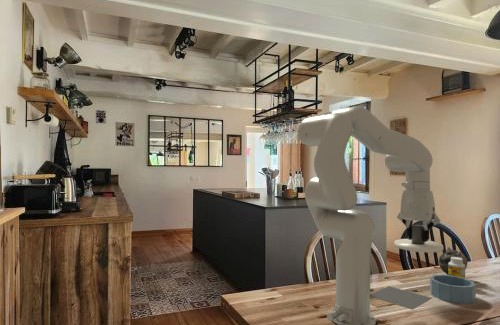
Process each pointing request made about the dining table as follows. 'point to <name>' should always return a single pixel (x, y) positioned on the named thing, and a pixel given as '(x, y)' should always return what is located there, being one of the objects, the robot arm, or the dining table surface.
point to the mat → (400, 297)
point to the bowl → (453, 289)
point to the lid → (418, 242)
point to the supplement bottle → (456, 267)
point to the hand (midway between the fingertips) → (418, 239)
